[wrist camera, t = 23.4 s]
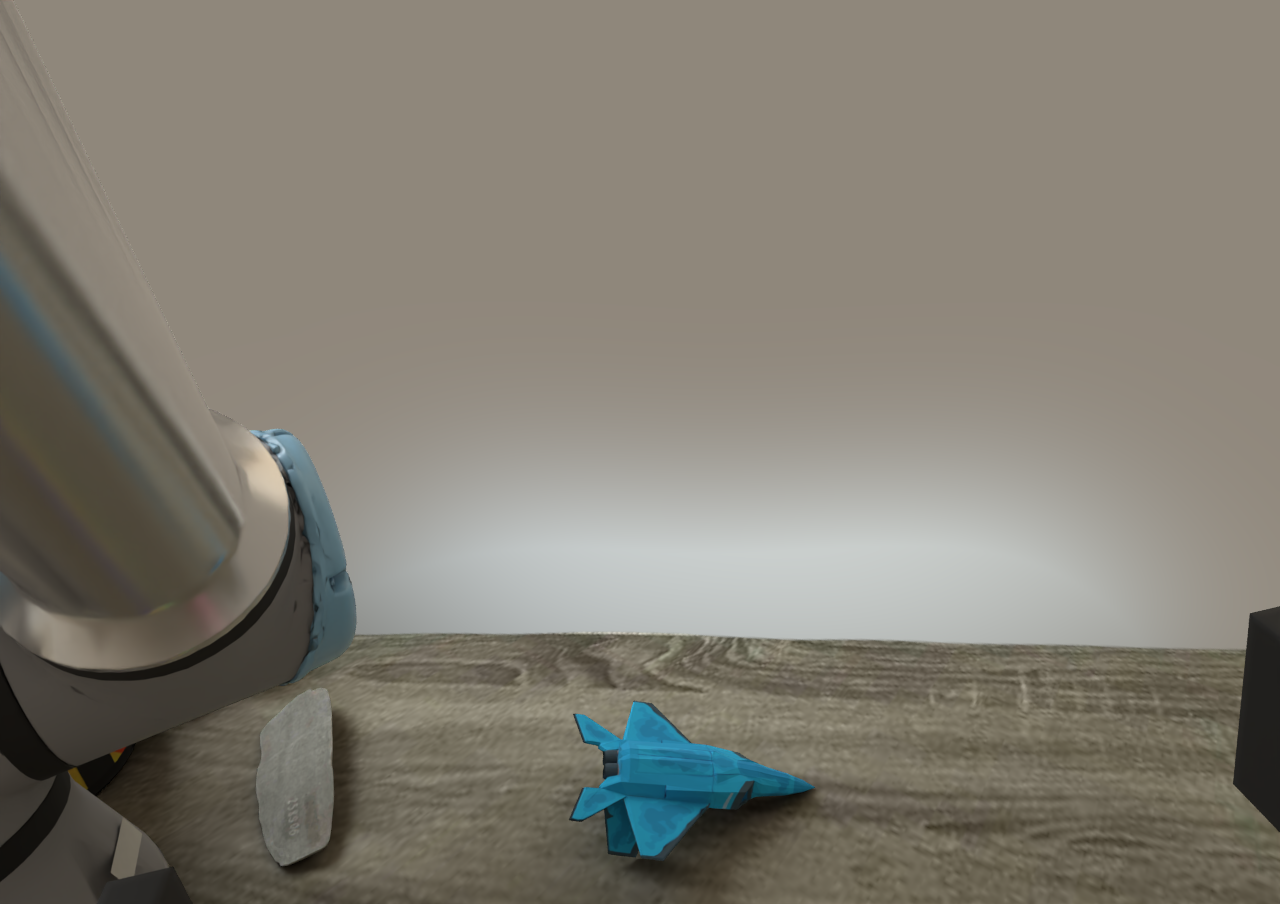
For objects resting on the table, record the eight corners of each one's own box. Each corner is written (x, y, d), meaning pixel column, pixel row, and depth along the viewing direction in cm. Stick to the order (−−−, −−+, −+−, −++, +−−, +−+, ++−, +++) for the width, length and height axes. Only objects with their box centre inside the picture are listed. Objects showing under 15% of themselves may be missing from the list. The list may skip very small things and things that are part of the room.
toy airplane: (633, 931, 44) (616, 865, 42) (524, 813, 51) (506, 752, 49) (816, 790, 49) (808, 726, 47) (694, 702, 57) (683, 644, 55)
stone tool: (254, 710, 62) (327, 673, 63) (265, 726, 63) (337, 689, 63) (248, 878, 50) (339, 830, 50) (262, 895, 50) (352, 847, 51)
